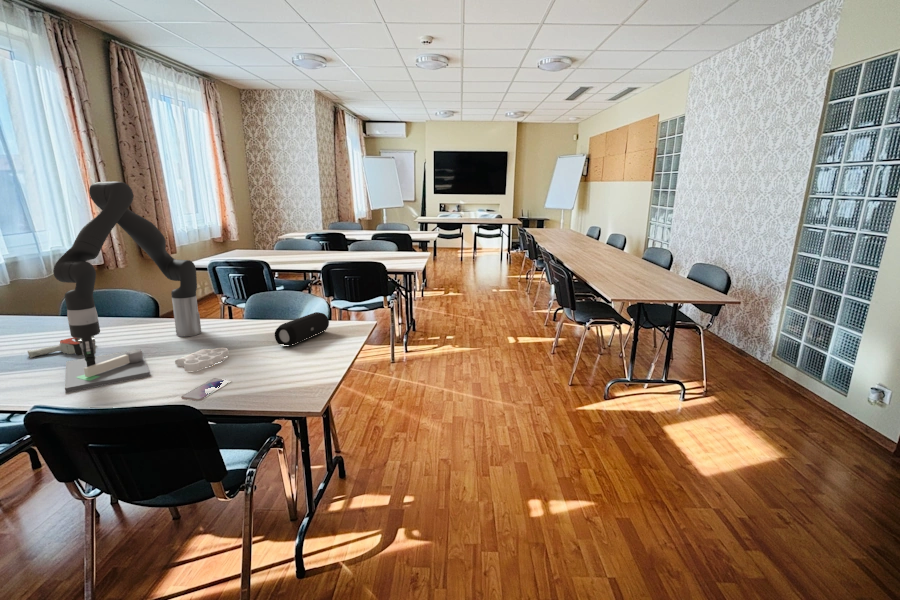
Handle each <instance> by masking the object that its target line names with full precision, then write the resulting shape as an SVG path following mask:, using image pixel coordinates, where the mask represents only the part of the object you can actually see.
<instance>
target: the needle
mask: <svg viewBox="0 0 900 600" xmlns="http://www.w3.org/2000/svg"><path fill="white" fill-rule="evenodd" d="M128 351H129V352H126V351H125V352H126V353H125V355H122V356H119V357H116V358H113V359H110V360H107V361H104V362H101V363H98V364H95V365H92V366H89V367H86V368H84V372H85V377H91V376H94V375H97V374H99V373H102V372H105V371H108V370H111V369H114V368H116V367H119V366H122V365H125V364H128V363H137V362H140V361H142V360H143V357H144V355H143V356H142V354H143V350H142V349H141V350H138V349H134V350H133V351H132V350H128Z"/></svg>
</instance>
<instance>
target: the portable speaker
mask: <svg viewBox="0 0 900 600" xmlns="http://www.w3.org/2000/svg"><path fill="white" fill-rule="evenodd" d="M329 325H330V320H329V318H328V316H327V314H325V313H323V312H313V313H310V314H307V315H303V316H301V317H298V318H296V319H293V320H290V321H287V322H285V323H282V324H280V325H279V326H278V327H277V328H276V329H275V331H274V339H275V341H276V343H277V344H278V345H279V344H284V345H292V344H295V343H297V342H300V341H302V340H304V339H306V338H309V337H311V336H313V335H315V334H318V333H320V332H322V331H324V330H325V331H326V330H327V329H328V328H329ZM325 331H324V332H325ZM318 335H319V334H318ZM311 338H312V337H311ZM309 339H310V338H309ZM304 341H305V340H304ZM302 342H303V341H302ZM300 343H301V342H300ZM297 344H298V343H297ZM295 345H296V344H295Z"/></svg>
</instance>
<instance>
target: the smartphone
mask: <svg viewBox="0 0 900 600" xmlns="http://www.w3.org/2000/svg"><path fill="white" fill-rule="evenodd" d="M222 379H223V378H212V379H210V380H208V381H206V382H205V383H203V384H200V386H197V387H195V388H194V389H192V390H190V391H188V392H186V393H185V394H183V395H182V396H181V397H180V398H182V400H187V399H192V400H191V401H195V400H201V401H203V400H204V399H203V398H204V397H206V396H207V395H208V393H207V394H206V393H205V389H208V388H211V387H215V388H217V387H218V386H219V387H220V385H221V384H222V383H220V382H223V381H224V380H222ZM219 387H218V388H219ZM206 398H207V397H206ZM202 399H203V400H202Z"/></svg>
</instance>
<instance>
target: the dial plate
mask: <svg viewBox="0 0 900 600" xmlns="http://www.w3.org/2000/svg"><path fill="white" fill-rule="evenodd" d="M137 350H141V351H142V349H137ZM129 351H130V350H128V351H121V352H116V353H109V354H104V355H95V358H96V359H95V363H96V364H98V363H101V362H104V361H107V360H110V359H113V358H116V357H119V356H122V355H125V353H126V352H129ZM131 351H133V350H131ZM142 356H143V360H142V361H140V362H137V363H128V364H125V365H122V366H119V367H116V368H114V369H111V370H108V371H105V372H102V373H99V374H97V375H94V376H91V377H85V372H84V368H86V367H87V362H86V360H85V357H84V358H80V359H74V360H73V359H72V360H68V361H67V360H66V361H65V379H64V390H65V391H64V392H65V394H66V393H71V392H72V393H73V392H77V391H82V390H86V389H90V388H91V389H92V388H96V387H101V386H107V385H112V384H116V383H122V382H127V381H133V380H139V379H141V378H142V379H143V378H147V377H151V373H150V369H149V367H148V363H146V360H145V357H144V354H143V353H142Z"/></svg>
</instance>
